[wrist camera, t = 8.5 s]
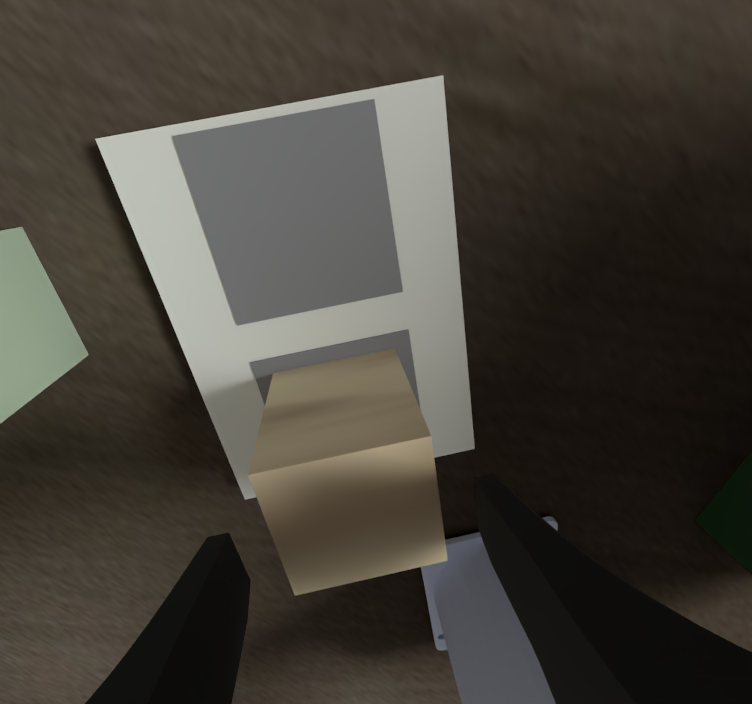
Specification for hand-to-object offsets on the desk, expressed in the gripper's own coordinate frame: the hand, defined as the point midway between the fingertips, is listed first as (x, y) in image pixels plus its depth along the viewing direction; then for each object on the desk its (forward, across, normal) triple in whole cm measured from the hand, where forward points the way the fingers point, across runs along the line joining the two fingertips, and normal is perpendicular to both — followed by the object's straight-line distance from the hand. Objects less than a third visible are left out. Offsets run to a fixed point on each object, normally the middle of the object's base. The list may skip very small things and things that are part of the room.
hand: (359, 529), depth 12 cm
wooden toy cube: (+6, 0, 0) cm, 6 cm away
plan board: (+7, 0, -4) cm, 8 cm away
